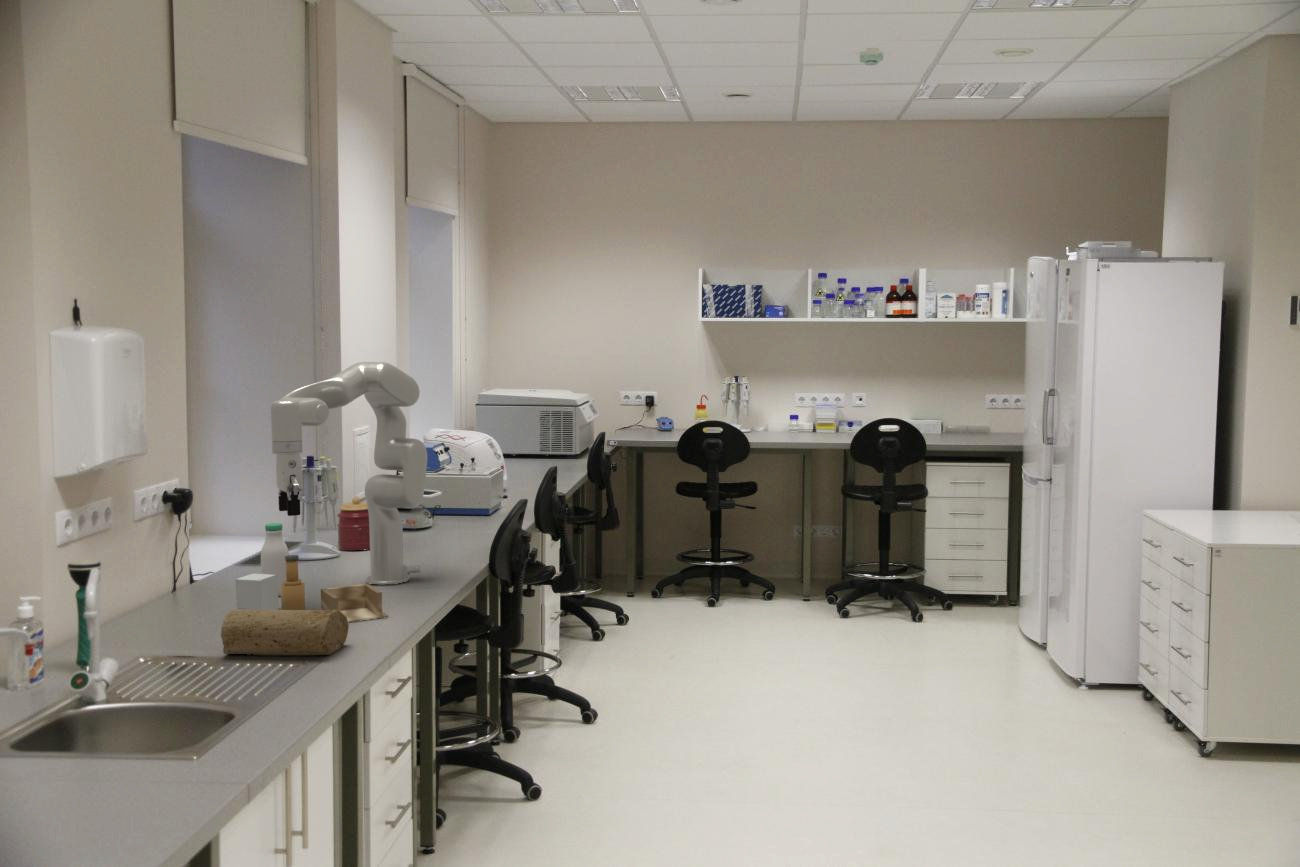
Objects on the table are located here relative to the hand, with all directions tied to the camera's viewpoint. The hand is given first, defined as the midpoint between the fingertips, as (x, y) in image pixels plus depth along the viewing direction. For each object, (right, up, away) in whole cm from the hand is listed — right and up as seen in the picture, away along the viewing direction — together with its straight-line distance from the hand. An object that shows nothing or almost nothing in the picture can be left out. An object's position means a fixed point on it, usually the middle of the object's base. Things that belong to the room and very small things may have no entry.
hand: (289, 513), depth 308 cm
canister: (-6, -19, +95) cm, 97 cm away
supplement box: (-4, -28, -12) cm, 30 cm away
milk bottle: (-11, -25, +24) cm, 36 cm away
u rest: (+17, -27, -2) cm, 31 cm away
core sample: (+10, -30, -36) cm, 48 cm away
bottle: (0, -26, +2) cm, 26 cm away
